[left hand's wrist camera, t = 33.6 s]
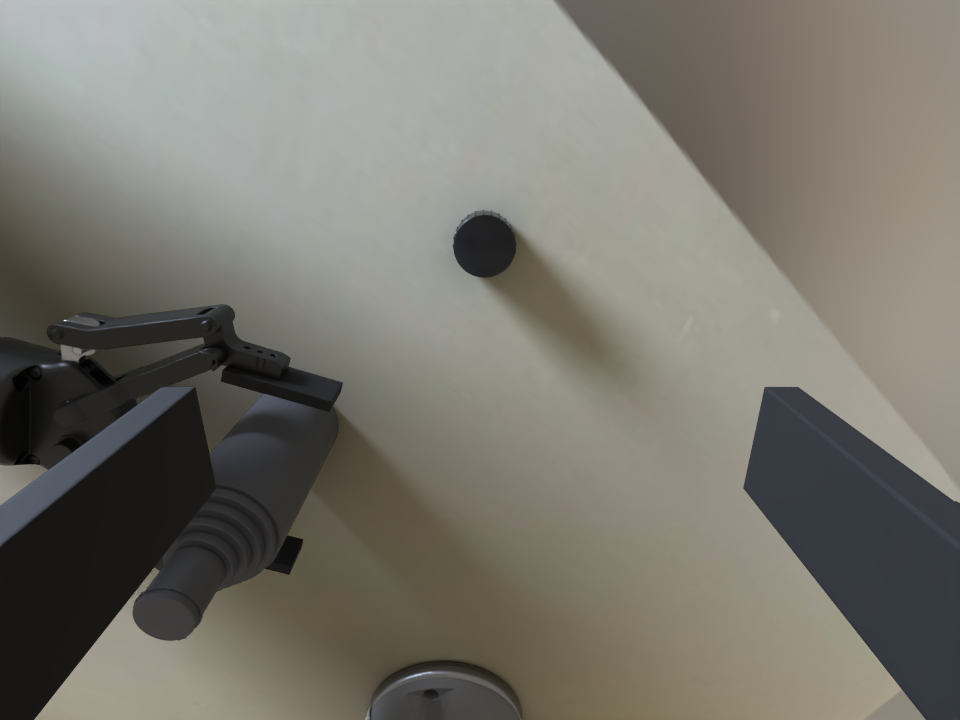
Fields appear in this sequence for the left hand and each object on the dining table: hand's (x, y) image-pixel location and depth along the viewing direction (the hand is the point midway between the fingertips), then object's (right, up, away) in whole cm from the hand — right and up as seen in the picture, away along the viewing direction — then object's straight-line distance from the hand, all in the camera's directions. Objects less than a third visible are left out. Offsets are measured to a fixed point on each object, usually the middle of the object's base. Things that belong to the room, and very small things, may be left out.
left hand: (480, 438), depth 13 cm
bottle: (-14, -3, +29) cm, 32 cm away
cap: (0, +9, +21) cm, 23 cm away
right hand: (-11, -6, +23) cm, 26 cm away
